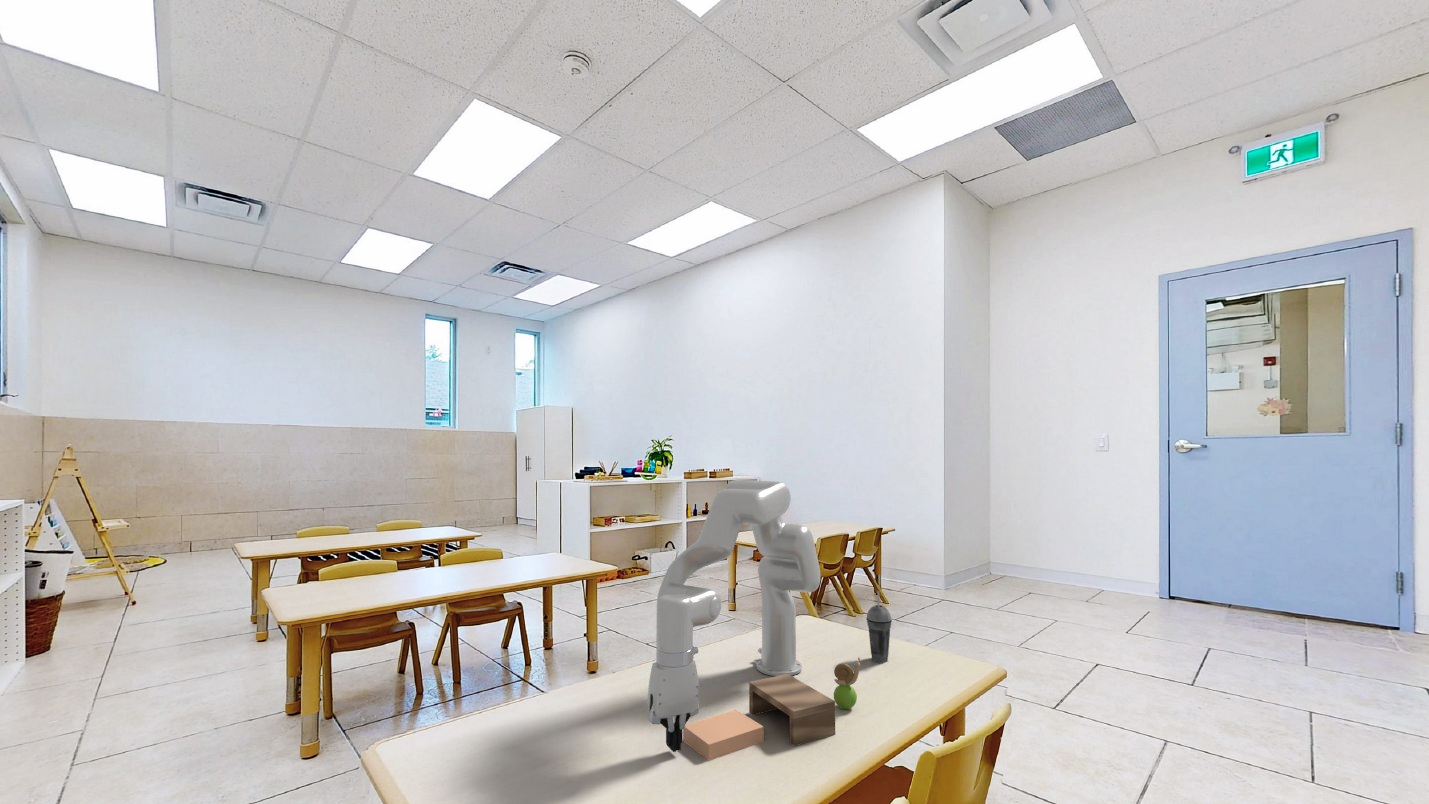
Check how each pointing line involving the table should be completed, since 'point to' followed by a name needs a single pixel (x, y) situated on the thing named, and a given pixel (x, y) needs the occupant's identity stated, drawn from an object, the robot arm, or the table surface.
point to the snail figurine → (846, 685)
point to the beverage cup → (879, 632)
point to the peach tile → (723, 734)
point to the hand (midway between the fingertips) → (674, 748)
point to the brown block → (794, 706)
